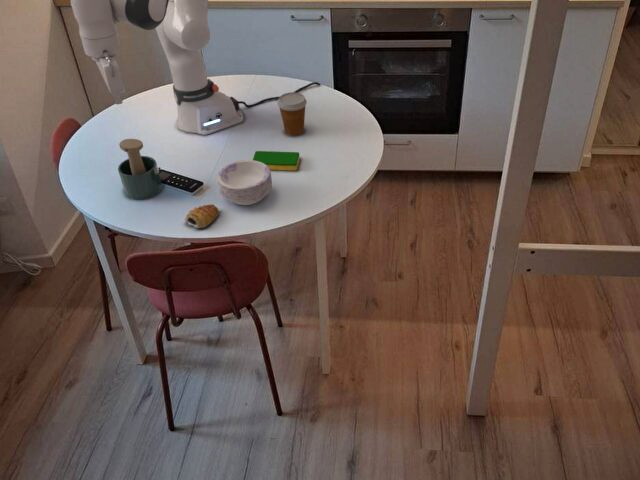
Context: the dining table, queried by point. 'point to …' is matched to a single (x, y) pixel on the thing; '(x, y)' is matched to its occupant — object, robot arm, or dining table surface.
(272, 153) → the dish sponge
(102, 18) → the robot arm
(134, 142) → the handle
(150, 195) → the crock
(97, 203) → the dining table surface
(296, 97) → the disposable coffee cup
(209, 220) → the pastry
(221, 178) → the white bowl
